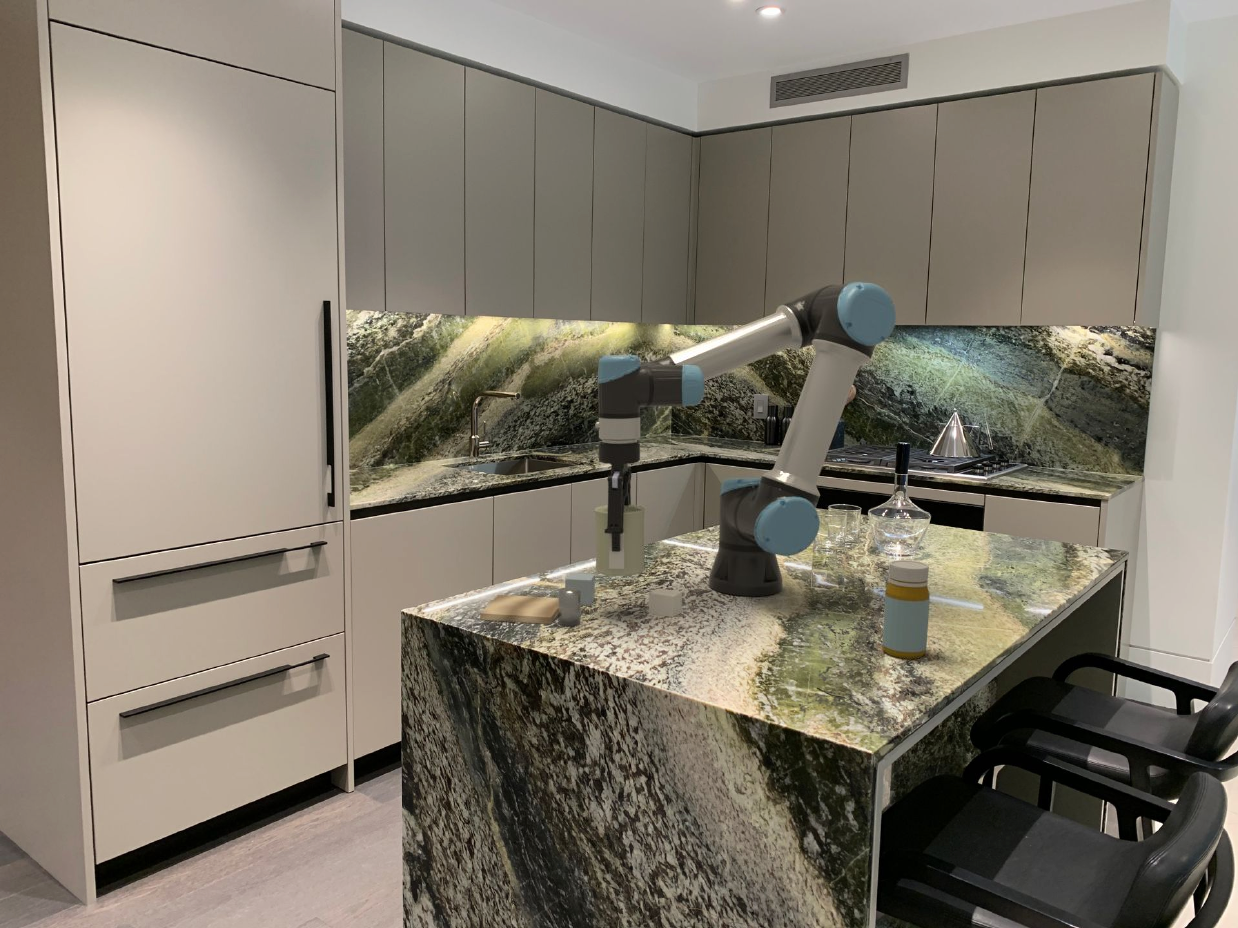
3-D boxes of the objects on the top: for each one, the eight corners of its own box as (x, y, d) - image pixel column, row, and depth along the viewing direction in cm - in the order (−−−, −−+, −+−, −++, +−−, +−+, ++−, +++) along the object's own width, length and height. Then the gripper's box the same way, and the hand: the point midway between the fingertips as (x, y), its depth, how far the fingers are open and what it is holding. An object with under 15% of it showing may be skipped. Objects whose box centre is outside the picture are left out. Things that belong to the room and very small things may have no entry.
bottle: (875, 646, 163) (880, 559, 161) (916, 646, 164) (921, 559, 162) (890, 659, 156) (896, 569, 154) (932, 659, 157) (938, 569, 155)
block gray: (594, 598, 189) (594, 574, 189) (590, 605, 184) (591, 580, 184) (569, 597, 190) (569, 572, 189) (564, 604, 185) (565, 579, 184)
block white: (681, 612, 181) (682, 591, 181) (673, 617, 178) (673, 596, 177) (657, 608, 184) (658, 588, 183) (648, 613, 180) (649, 592, 180)
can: (640, 577, 173) (639, 511, 171) (590, 575, 174) (589, 509, 173) (648, 565, 182) (648, 502, 180) (601, 563, 183) (600, 501, 182)
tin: (582, 620, 175) (582, 587, 174) (578, 626, 171) (578, 593, 170) (560, 618, 175) (560, 586, 174) (556, 625, 171) (556, 592, 170)
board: (564, 604, 185) (564, 598, 184) (551, 623, 172) (551, 617, 172) (498, 600, 186) (498, 594, 186) (480, 619, 173) (480, 613, 173)
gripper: (607, 434, 186) (608, 548, 189) (589, 447, 165) (591, 576, 168) (645, 434, 185) (646, 549, 188) (633, 447, 164) (633, 577, 167)
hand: (620, 561), depth 178 cm, fingers closed on can, 9 cm apart
